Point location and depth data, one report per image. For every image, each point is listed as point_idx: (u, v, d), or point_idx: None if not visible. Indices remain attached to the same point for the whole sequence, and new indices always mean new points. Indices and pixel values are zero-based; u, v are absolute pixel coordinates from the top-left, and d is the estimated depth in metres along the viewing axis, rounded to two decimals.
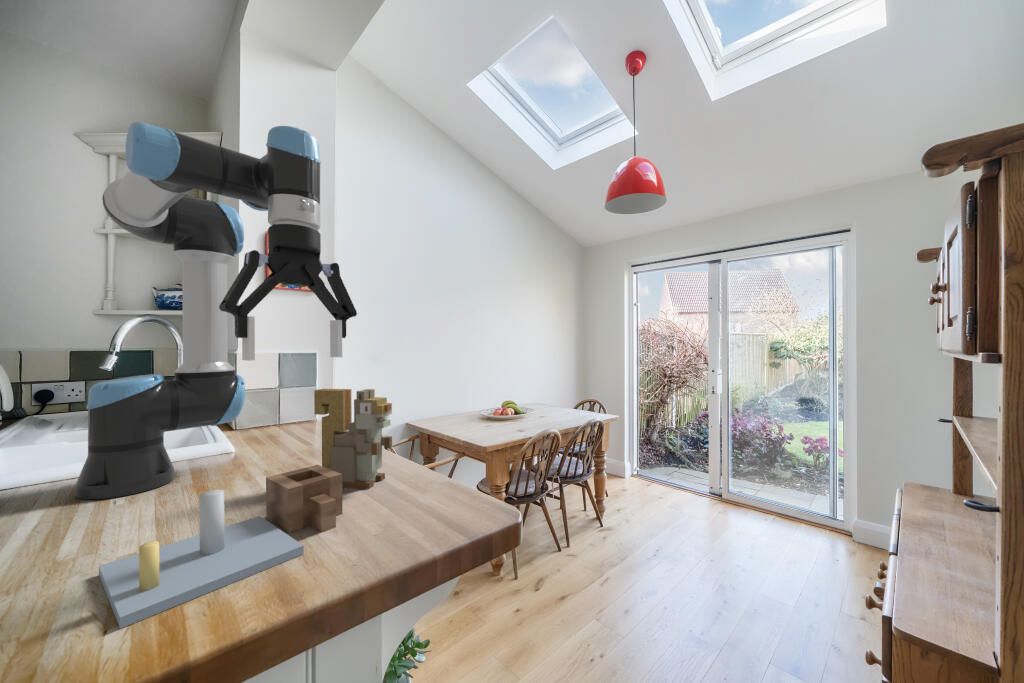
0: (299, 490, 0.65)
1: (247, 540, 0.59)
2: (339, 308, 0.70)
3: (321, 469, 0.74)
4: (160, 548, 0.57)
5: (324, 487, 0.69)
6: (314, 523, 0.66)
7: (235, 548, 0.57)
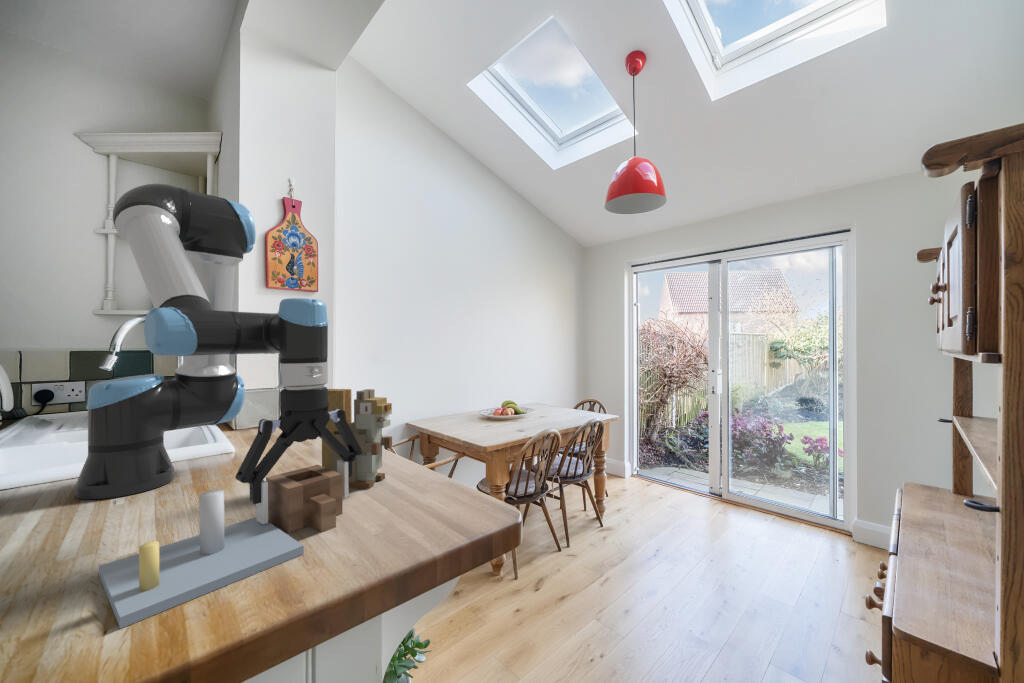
0: (299, 490, 0.65)
1: (247, 540, 0.59)
2: (345, 451, 0.75)
3: (321, 469, 0.74)
4: (160, 548, 0.57)
5: (324, 487, 0.69)
6: (314, 523, 0.66)
7: (235, 548, 0.57)
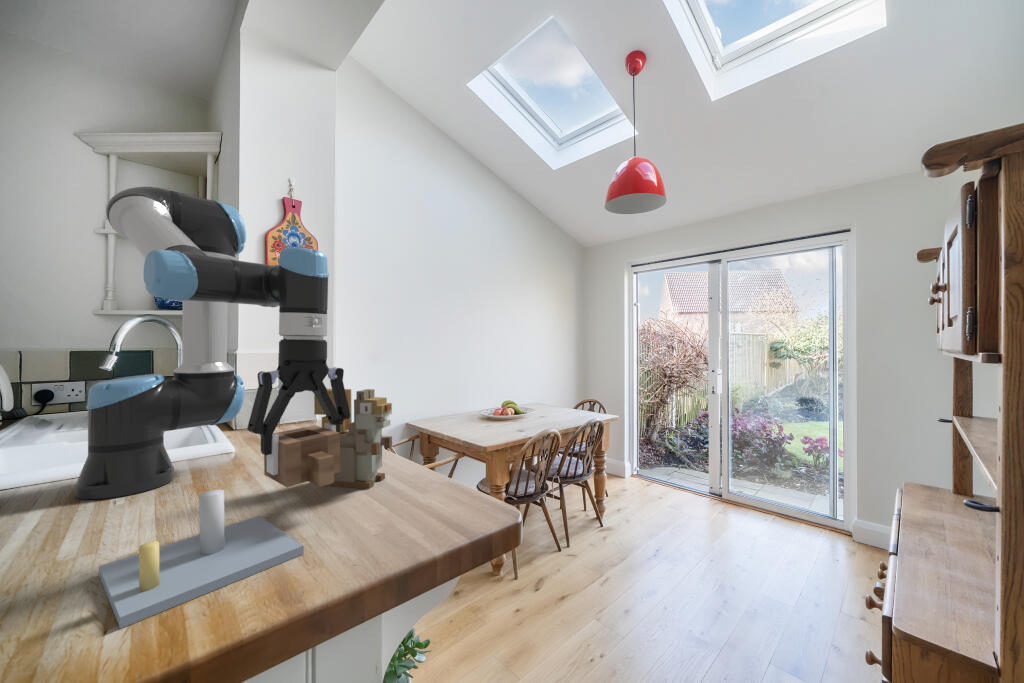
0: (297, 446, 0.66)
1: (247, 540, 0.59)
2: (335, 413, 0.74)
3: (319, 428, 0.74)
4: (160, 548, 0.57)
5: (322, 445, 0.69)
6: (312, 479, 0.66)
7: (235, 548, 0.57)
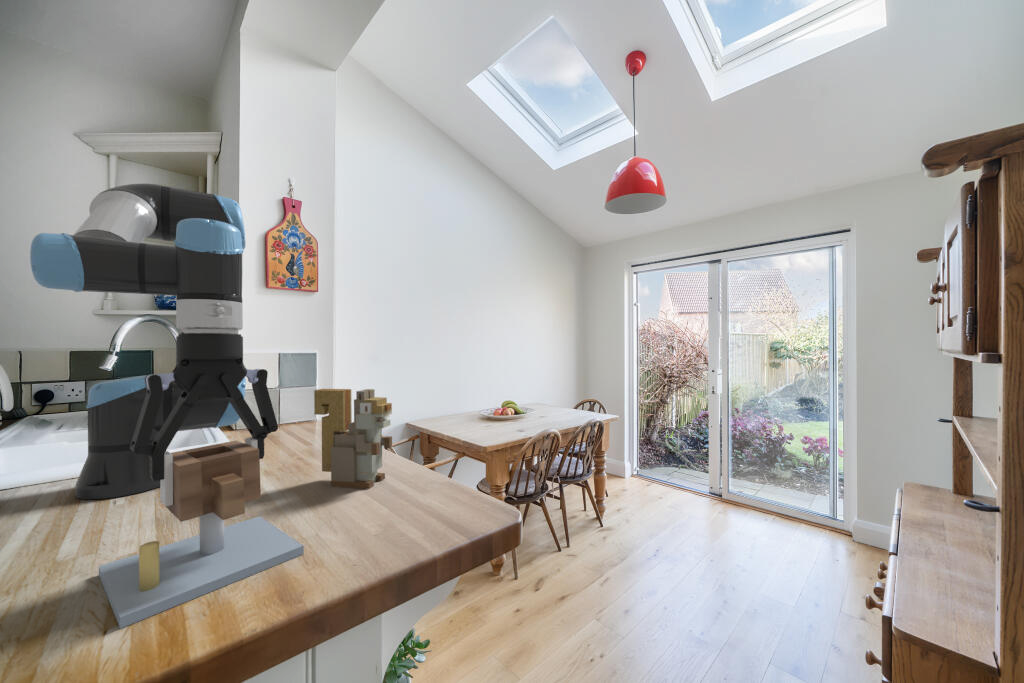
0: (195, 468, 0.51)
1: (247, 540, 0.59)
2: (256, 425, 0.60)
3: (237, 444, 0.60)
4: (160, 548, 0.57)
5: (233, 465, 0.55)
6: (216, 509, 0.52)
7: (235, 548, 0.57)
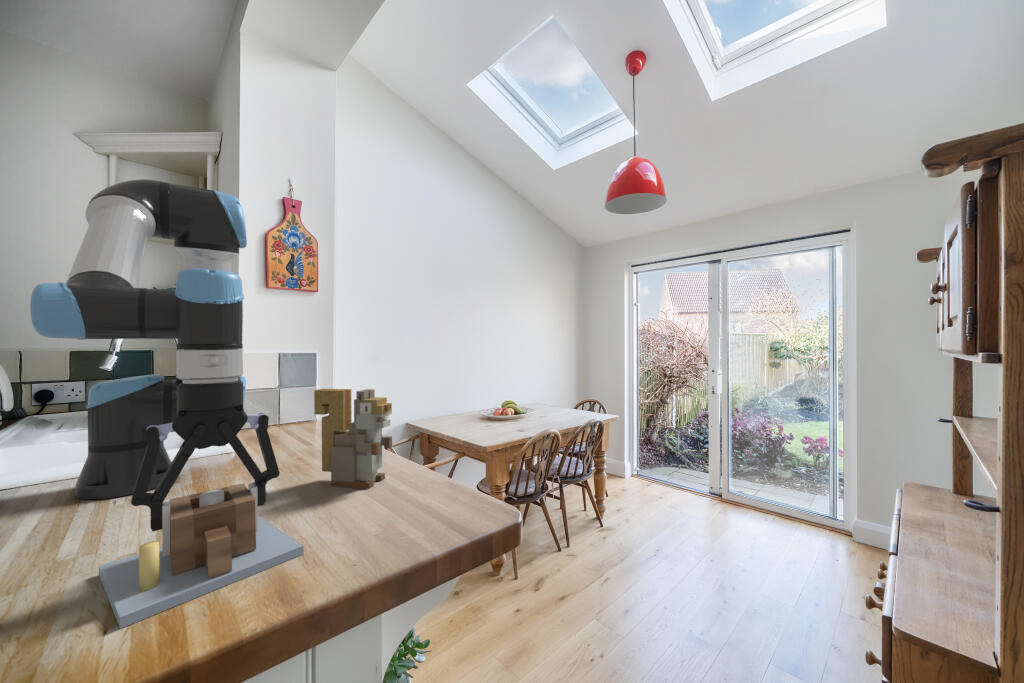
0: (188, 521, 0.51)
1: None
2: (256, 471, 0.59)
3: (241, 490, 0.60)
4: (160, 548, 0.57)
5: (227, 517, 0.54)
6: (206, 564, 0.51)
7: None
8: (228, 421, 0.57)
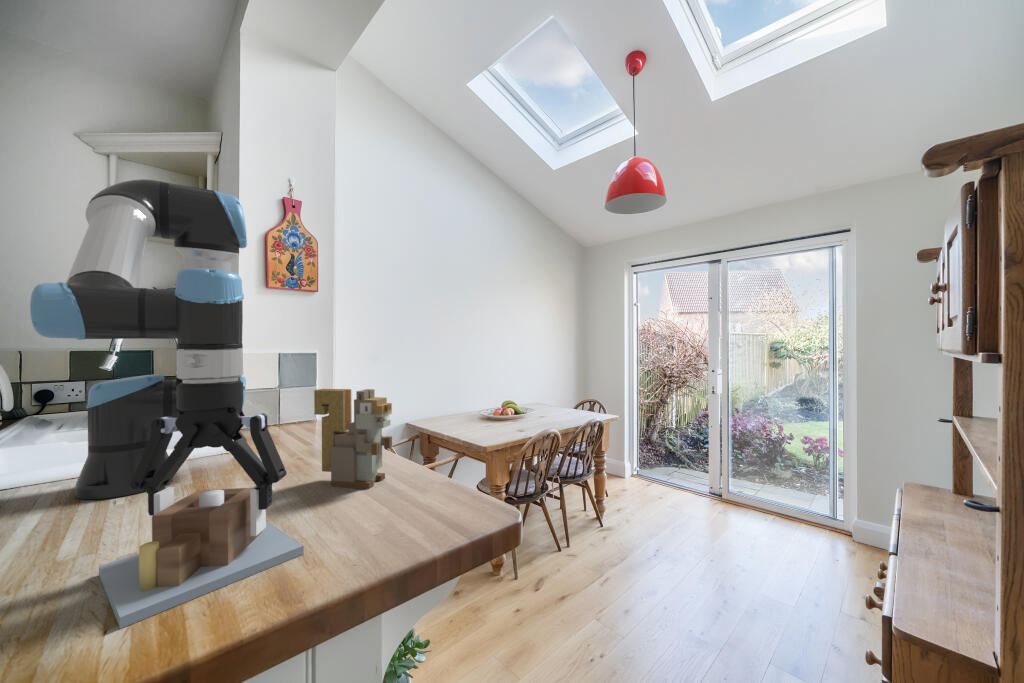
0: (166, 521, 0.52)
1: None
2: (254, 474, 0.56)
3: (244, 495, 0.58)
4: None
5: (201, 524, 0.52)
6: None
7: None
8: (220, 422, 0.56)
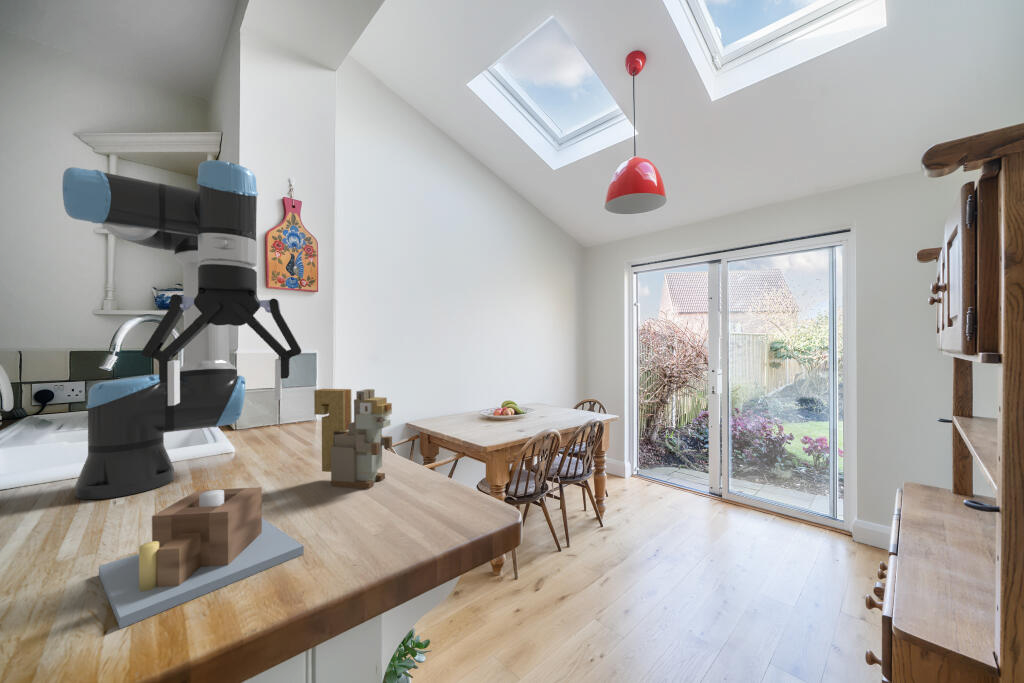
0: (166, 521, 0.52)
1: None
2: (277, 347, 0.65)
3: (244, 495, 0.58)
4: None
5: (201, 524, 0.52)
6: None
7: None
8: (240, 303, 0.63)
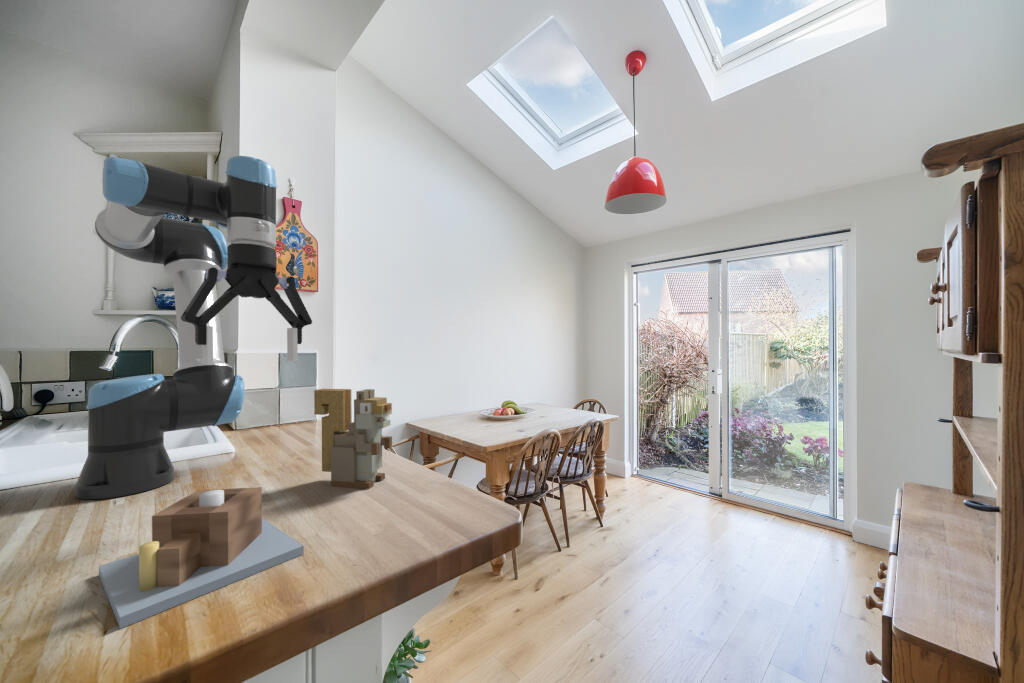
0: (166, 521, 0.52)
1: None
2: (294, 317, 0.78)
3: (244, 495, 0.58)
4: None
5: (201, 524, 0.52)
6: None
7: None
8: None
